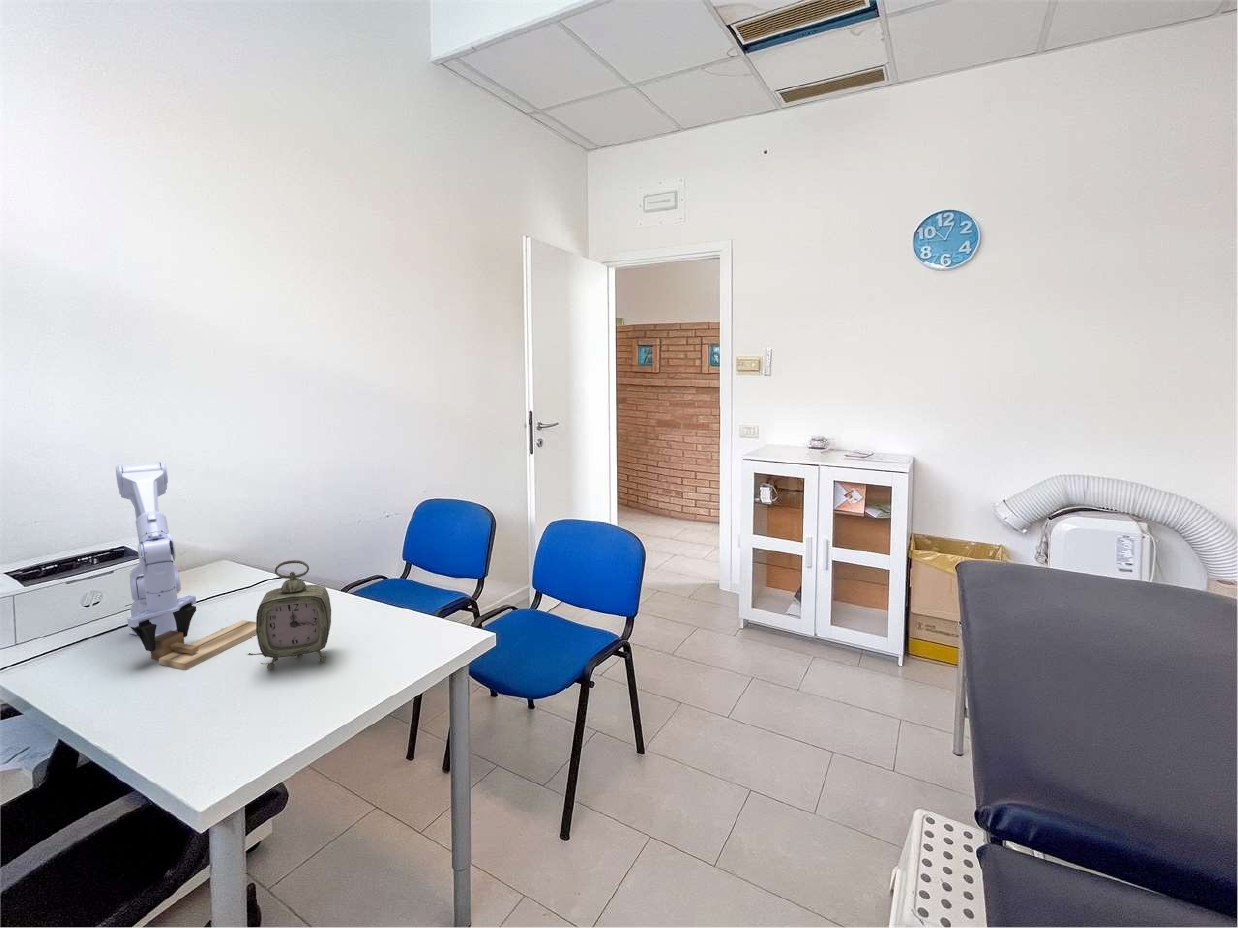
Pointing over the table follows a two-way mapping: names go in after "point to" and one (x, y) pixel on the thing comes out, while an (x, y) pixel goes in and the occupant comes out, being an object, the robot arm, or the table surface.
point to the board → (211, 645)
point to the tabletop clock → (293, 618)
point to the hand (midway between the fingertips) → (167, 643)
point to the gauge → (171, 644)
